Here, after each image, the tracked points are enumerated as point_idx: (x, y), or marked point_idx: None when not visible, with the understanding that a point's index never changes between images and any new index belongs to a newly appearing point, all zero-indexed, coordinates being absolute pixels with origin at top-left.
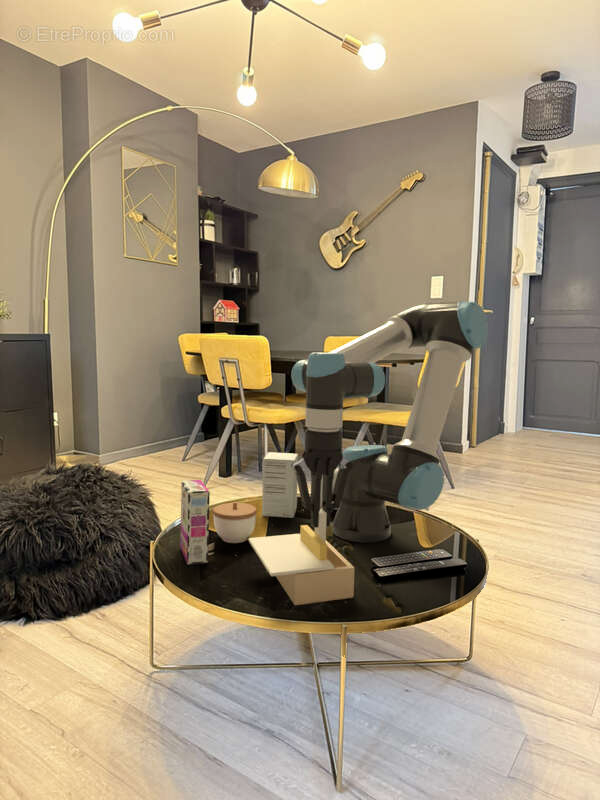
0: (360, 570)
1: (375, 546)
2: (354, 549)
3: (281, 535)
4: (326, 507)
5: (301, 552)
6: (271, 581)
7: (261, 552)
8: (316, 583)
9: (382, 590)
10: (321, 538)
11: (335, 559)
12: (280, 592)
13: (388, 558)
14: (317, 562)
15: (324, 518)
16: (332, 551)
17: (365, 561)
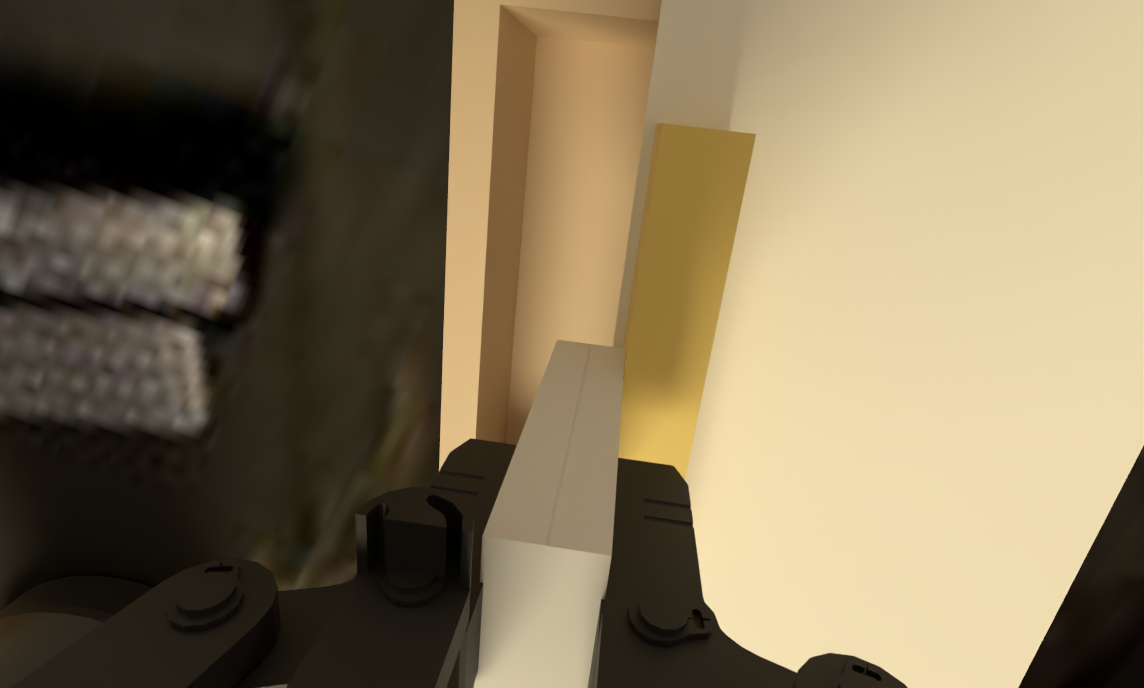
0: (316, 320)
1: (127, 539)
2: (248, 550)
3: None
4: (455, 619)
5: (779, 356)
6: None
7: (1089, 481)
8: None
9: (295, 23)
10: (595, 367)
11: (494, 273)
12: None
13: (107, 392)
14: (773, 92)
15: (537, 481)
16: (482, 346)
17: (245, 408)
